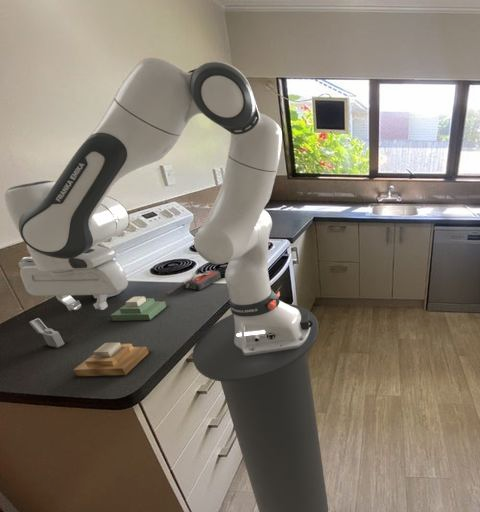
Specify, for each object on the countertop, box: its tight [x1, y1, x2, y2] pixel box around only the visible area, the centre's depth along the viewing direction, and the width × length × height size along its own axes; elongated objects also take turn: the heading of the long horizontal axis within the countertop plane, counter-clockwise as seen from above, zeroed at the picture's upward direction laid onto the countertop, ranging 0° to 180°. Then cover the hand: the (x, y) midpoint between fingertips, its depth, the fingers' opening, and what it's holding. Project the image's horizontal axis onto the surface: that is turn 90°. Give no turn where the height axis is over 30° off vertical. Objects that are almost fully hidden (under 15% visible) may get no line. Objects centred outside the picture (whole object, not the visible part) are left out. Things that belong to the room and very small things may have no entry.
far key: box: [125, 295, 146, 307], centre depth 96 cm, size 4×4×2 cm
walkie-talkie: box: [165, 269, 222, 296], centre depth 115 cm, size 9×4×20 cm
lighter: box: [29, 317, 65, 349], centre depth 82 cm, size 7×2×8 cm, turn 75°
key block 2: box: [73, 343, 149, 377], centre depth 75 cm, size 12×8×4 cm, turn 92°
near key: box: [93, 342, 122, 358], centre depth 74 cm, size 4×4×2 cm
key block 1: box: [110, 297, 167, 322], centre depth 97 cm, size 12×8×4 cm, turn 92°
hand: (89, 308), depth 69 cm, fingers open, 5 cm apart
